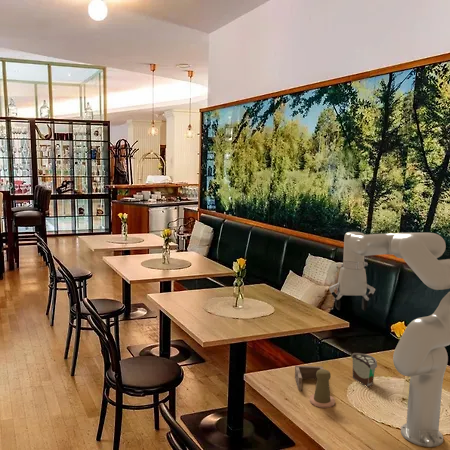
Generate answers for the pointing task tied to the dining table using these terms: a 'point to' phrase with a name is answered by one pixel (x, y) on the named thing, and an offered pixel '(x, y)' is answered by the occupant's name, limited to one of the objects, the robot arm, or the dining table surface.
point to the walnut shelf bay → (305, 374)
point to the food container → (364, 368)
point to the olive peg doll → (322, 386)
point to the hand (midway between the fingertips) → (350, 309)
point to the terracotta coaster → (322, 405)
